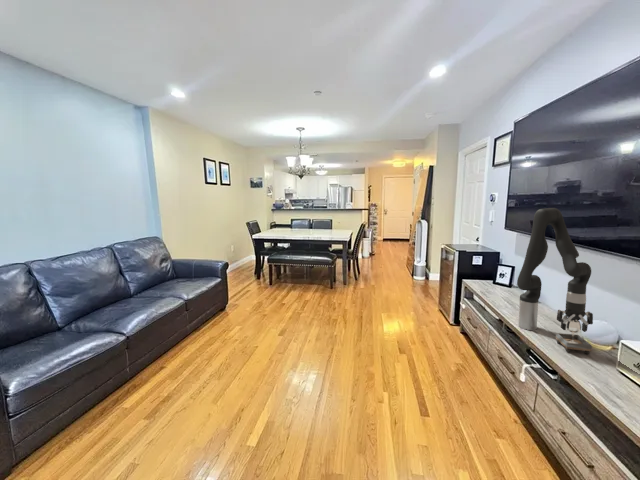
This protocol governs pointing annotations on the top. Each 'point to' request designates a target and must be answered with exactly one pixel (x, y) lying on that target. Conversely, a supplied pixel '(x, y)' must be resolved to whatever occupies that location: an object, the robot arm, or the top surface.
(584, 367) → the top surface
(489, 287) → the top surface
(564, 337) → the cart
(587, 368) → the top surface
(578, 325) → the wineglass
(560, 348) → the top surface
